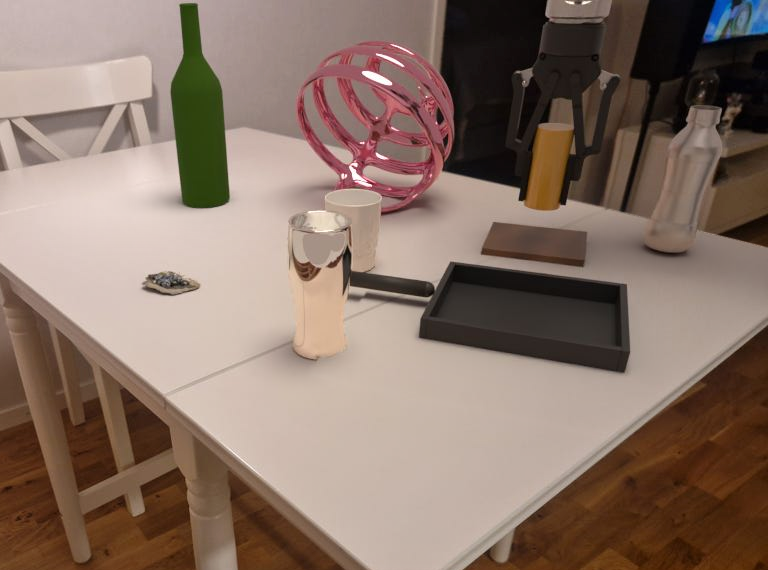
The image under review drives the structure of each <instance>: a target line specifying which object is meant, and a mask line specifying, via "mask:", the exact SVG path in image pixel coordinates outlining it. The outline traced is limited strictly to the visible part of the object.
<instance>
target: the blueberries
mask: <svg viewBox="0 0 768 570" xmlns="http://www.w3.org/2000/svg"><path fill="white" fill-rule="evenodd" d="M185 276H186V274H184V275H182V274H180V271H178V272H177V273H176V272H173V271H170V270H168V271H160V272H157V273H150V274H147V276H146V277H145V280H146V281H142V283H141V286H145V287H147V288H150V289H155V290H156V291H159V292H160V293H163V294H170V295H172V296H173V295H178V294H183V292H184V293H186V292H188V291H194V290H197V289H199V288H200V287H201V283H200V282H199V280H197V279H192V278H190V277H189V278H185Z"/></svg>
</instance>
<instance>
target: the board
mask: <svg viewBox="0 0 768 570" xmlns="http://www.w3.org/2000/svg"><path fill="white" fill-rule="evenodd" d="M587 240H588V231H583V230H575V229H574V230H573V229H566V228H565V229H563V228H556V227H555V228H554V227H546V226H545V227H544V226H536V225H526V224H517V223H509V222H508V223H507V222H498V221H493V222H492V224H491V226H490V229H489V231H488V233H487V235H486V238H485V240H484V242H483V244H482V246H481V250H480V251H481V252H480V255H482V256H489V257H499V258H504V259H505V258H506V259H512V260H513V259H515V260H522V261H531V262H539V263H546V264H554V265H555V264H556V265H563V266H570V267H571V266H572V267H579V268H584V266H585V262H586V252H587Z"/></svg>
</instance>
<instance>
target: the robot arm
mask: <svg viewBox="0 0 768 570" xmlns="http://www.w3.org/2000/svg"><path fill="white" fill-rule="evenodd" d="M612 3H613V0H547V1H546V7H545V13H544V14H545V15H544V16H545V17H546V18H548V21H546V22H544V23H545V24H543V25H542V31H541V36H540V38H541V39H540V44H539V49H538V50H539V51H538V56H537V59H536V61H535V62H534V64H533V66H532V67H531V68H527V69H524V70H515V72H513V74H512V75H511V84H512V90H513V96H512V100H511V101H512V102H511V106H510V107H511V108H510V114H509V121H508V125H507V130H506V131H507V132H506V138H505V147H506V148H507V149H511V150H513V151H514V152H515V153H516V161H515V168H514V175H515V177H521V181H520V186H519V187H520V188H519V193H518V200H517V201H518V202H524V198H525V192H526V187H527V181H528V175H529V169H530V163H531V157H532V151H533V150H529V147H530V144H531V143H532V140H533V137H535V133H536V129H537V127H538V125H539V124H540V122H541V120H542V118H543V116H544V112H545V111H546V108H547V106H548V105H549V101H550V100H556V99H564V100H567V101H568V100H569V101H571V107H572V108H571V109H572V121H573V126H574V150H575V153H570V158H569V163H568V168H567V173H566V178H565V183H564V188H563V193H562V198H561V203H560V206H567V202H568V196H569V192H570V188H571V187H570V186H571V182H579V181H580V179H581V176H582V172H583V169H584V168H583V167H584V162H585V159H586V158H587V157H589V156H593V155H594V156H596V155H599V154H600V153H601V151H602V146H603V141H604V137H605V132H606V128H607V127H606V126H607V123H608V117H609V112H610V108H611V104H612V103H611V102H612V99H613V95H614V94H615V92H616V91H617V88H618V86H619V85H620V83H621V75H619V73H611V72H609V71H606V70H604V69H603V67H602V63H601V55H602V50H603V46H604V42H605V41H604V40H605V35H606V31H607V26H608V25H606V22H604V21H603V19H605V18H607V17H608V16H609V15H610V12H611V7H612ZM532 77H533V78H534V80H535V81H536V83H537V85H538V87H539V89H540V91H541V95H540V97H539V99H538V102H537V104H536V106H535V109H534V111H533V114H532V116H531V118H530V121H529V123H528V125H527V127H526V130H525V132H524V133H523V136H522V138H521V139H519V138H518V133H519V128H520V122H521V115H522V111H523V103H524V98H525V90H526V87H528V86H529V85H530V82H531V78H532ZM596 80H599V90H601V91H602V92H601V97H600V101H599V106H598V111H597V115H596V121H595V126H594V131H593V136H592V141H591V143H589V144H587V143H586V129H585V128H586V127H585V111H584V96H583V95H584V93H585V92H586V91H587V90H588V89H589V88H590V87H591V86H592V85H593V84H594V83H595V81H596Z"/></svg>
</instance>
